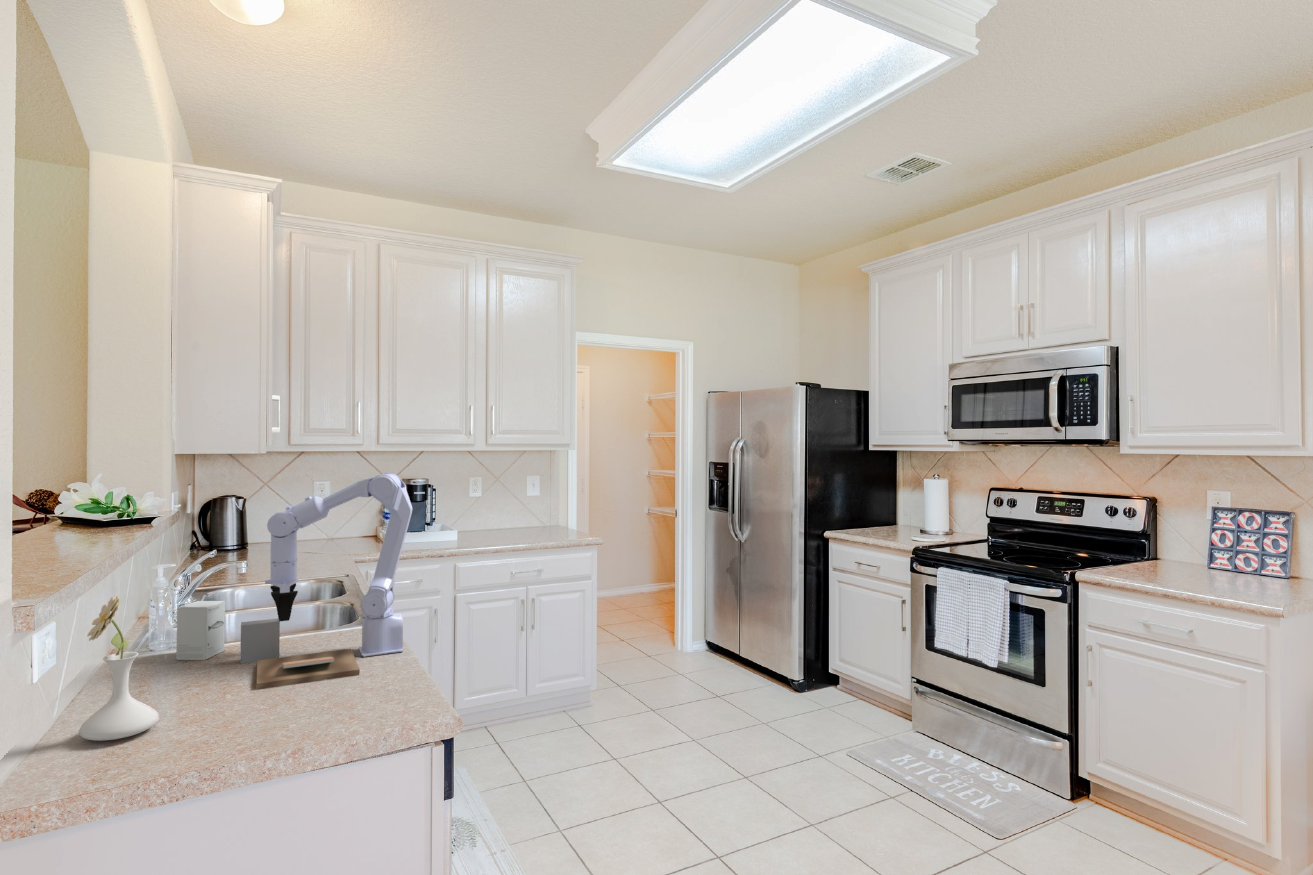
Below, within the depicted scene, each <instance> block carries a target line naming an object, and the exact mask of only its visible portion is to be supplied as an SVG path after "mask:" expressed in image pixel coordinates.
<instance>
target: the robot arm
mask: <svg viewBox="0 0 1313 875" xmlns="http://www.w3.org/2000/svg"><path fill="white" fill-rule="evenodd" d="M359 497H361V498H371V497H373V498H374V499H375V500H377V501H378V502H380V503H381V504H382V505H383V506H384V507H385V508H386V510H387V511H388V512H389V514H390V517H389V520H388V524H387V527H386V529H385V530H386V531H385V534H384V537H383V538H384V539H383V543H382V545H381V549H380V553H379V557H378V560H377V564H376V568H375V571H374V574H373V578H372V580H371V581H370V585H369V587H368V589H367V590H368V591H367V592H366V594H364V596H363V597H362V599H361V601H360V609H361V612H362V614H361V616H362V617H361V618H362V620H361V622H362V623H361V646H359V647H358V650H359V653H360V655H361V657H365V658H366V657H373V656H379V655H387V654H394V653H395V654H396V653H402V652H404V648H403V647H404V646H403V645H404V620H403V619H404V618H403V615H402V613H400V612H395V613H394V610H393V608H392V607H391V606H392V605H393V603H394V601H395V592H394V586H395V578H396V577H395V576H396V572H397V570H398V567H399V562H400V559H401V555H402V551H403V548H404V544H405V540H406V536H407V532H408V529H409V525H410V521H411V518H412V514H413V506H412V502H411V500H410V496H409V493H408V491H407V484H406V483H405V482H404V481H403V480H402V479H401V477H400V476H399V475H397V474H395V473H394V472H393V473H392V472H386V473H383V474H382V473H381V474H378V475H375V476H373V477H370V478H366V479H362V480H358V481H357V482H354V483H352V484H350V485H348V486H346V487H344V488H342V489H340V490H338V491H335V492H334V493H332V494H330V495H328V496H325V497H320V496H316V495H315V496H307V497H305V498H304V501H302V502H300V503H298V504H296V505H294V506H292V505H289V506H287V507H286V508H285V511H279V512H275V513H274V514H273V515H271V516H270V518H269V519H268V521H267V524H266V527H267V531H268V532H269V534H270V579H266V580H264V584H265V585H271V586H269V587H270V590H271V592H270V596H271V597H272V599H273V601H274V604H275V606H276V612H277V617H278V618H279V621H280V622H288V621H290V619H291V614H292V611H293V610H292V609H293V605H294V602H295V599H296V597H297V595H298V593H299V592H298V590H295V589H296V587H297V583H298V582H299V578H298V531H299V529H304V528H306V527H308V526H310V525H312V524H314V523H316V522H319V521H321V520H322V519H325V518H327V517H328V514H329V512H330V510H332V509H333V508H337V507H339V506H342V505H343V504H346V503H348V502H350V501H352V500H355V499H357V498H359Z"/></svg>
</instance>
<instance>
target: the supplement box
mask: <svg viewBox="0 0 1313 875" xmlns="http://www.w3.org/2000/svg"><path fill="white" fill-rule="evenodd" d="M176 617H177V618H176V648H175V649H176V650H175V651H176V654H175V656H176V658H175V659H176V661H177V660H179V661H207V660H208V659H210V658H212V657H214V656H216V655H218V654H221V653H223V652H225V635H226V634H225V633H226V631H225V630H226V629H225V628H226V626H225V625H226V623H225V622H226V601H225V600H197V601H194V602H190V603H187V604H183V605H181V606H178V607H177V608H176Z"/></svg>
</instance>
